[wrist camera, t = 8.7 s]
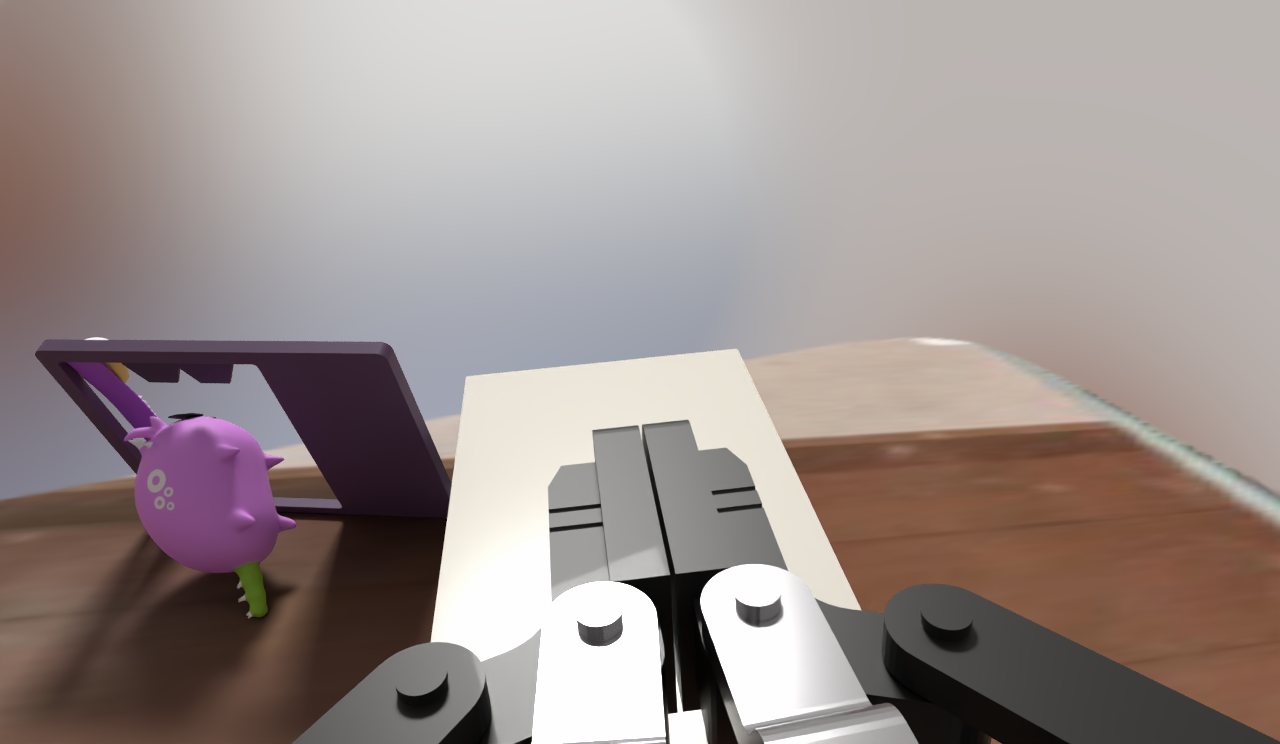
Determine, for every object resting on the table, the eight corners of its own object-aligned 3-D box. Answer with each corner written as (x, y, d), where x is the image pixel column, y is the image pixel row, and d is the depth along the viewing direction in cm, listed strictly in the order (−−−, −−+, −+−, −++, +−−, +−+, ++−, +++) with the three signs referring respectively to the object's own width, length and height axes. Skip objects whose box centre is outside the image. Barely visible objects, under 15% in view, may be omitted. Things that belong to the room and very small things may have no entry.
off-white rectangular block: (410, 795, 14) (466, 376, 26) (437, 902, 15) (479, 453, 27) (916, 727, 14) (737, 348, 27) (904, 835, 16) (737, 425, 28)
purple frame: (399, 319, 21) (55, 318, 22) (322, 505, 18) (-81, 490, 19) (468, 487, 26) (183, 478, 27) (418, 659, 22) (94, 639, 24)
